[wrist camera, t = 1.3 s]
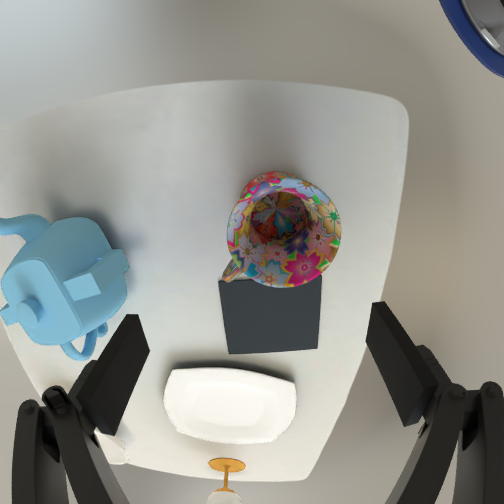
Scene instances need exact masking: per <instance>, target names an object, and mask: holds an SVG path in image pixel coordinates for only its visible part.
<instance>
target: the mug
mask: <svg viewBox="0 0 504 504" xmlns="http://www.w3.org/2000/svg"><path fill="white" fill-rule="evenodd" d="M340 239H341V223H340V218H339V215H338V212H337V210H336V208H335V206H334V204H333V202H332V201H331V200H330V198H329V197H328V196H327V195H326V194H325V193H324V192H323V191H322V190H321V189H319V188H318V187H316V186H315V185H313V184H311V183H309V182H307V181H304V180H301V179H298V178H297V177H295V176H293V175H291V174H288V173H284V172H269V173H265V174H262V175H260V176H258V177H256V178H255V179H253V180H252V181H251V182H250V183H249V184H248V185H247V186H246V187H245V189H244V190H243V192H242V194H241V196H240V199H239V200H238V202H237V203H236V205H235V206H234V208H233V210H232V212H231V215H230V217H229V221H228V226H227V242H228V247H229V251H230V253H231V256H232V260H231V261H230V262H229V264H228V265H227V267H226V269H225V270H224V272H223V275H222V278H223V280H225V281H226V282H231V281H233V280H235V279H236V278H237V277H239V276H240V275H241V274H242V273H243V272H244V273H245V274H246V275H247V276H248V277H250V278H251V279H253V280H255V281H256V282H259V283H261V284H264V285H267V286H271V287H278V288H287V287H294V286H299V285H302V284H304V283H307V282H309V281H311V280H313V279H314V278H316V277H317V276H319V275H320V274H321V273H322V272H323V271H325V269H326V268H327V267H328V266H329V265H330V263H331V262H332V261H333V259H334V257H335V255H336V253H337V251H338V248H339V244H340ZM236 265H237V267H236V268H235V266H236ZM234 268H235V269H234Z"/></svg>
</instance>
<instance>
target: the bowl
mask: <svg viewBox="0 0 504 504" xmlns="http://www.w3.org/2000/svg"><path fill="white" fill-rule="evenodd" d="M94 433H95V434H96V436H97V438H98V441H99V443H100V445H101V448H102V450H103V452H104V454H105V457H106V459H107V461H108V463H110V464H125V463H126V462H128V459H129V458H128V455H127V453H126V448H125V444H124V443H123V441H122V440H121V439H120V438H119V437H118V436H117V434H115V436H111V435H106V434H102V433H101V432H100V431H99V430H98V428H97V427H96V428H95V431H94Z"/></svg>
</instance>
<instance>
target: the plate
mask: <svg viewBox="0 0 504 504" xmlns="http://www.w3.org/2000/svg"><path fill="white" fill-rule="evenodd" d="M163 403H164V407H165V410H166V412H167V415H168V417H169V418H170V420H171V422H172V423H173V425H174V427H175V428H176V429H177V431H178V432H181V433H184V434H187V435H190V436H193V437H197V438H200V439H204V440H208V441H213V442H218V443H226V444H254V443H265V442H272V441H274V440H275V439H276V438H277V437H278V436H279V435H280V434H281V433H282V432H283V431H284V430H285V429H286V428H287V427H288V426H289V424H290V423H291V421H292V420H293V418H294V415H295V412H296V389H295V383H294V382H291V381H287V380H284V379H281V378H277V377H274V376H270V375H267V374H263V373H258V372H254V371H250V370H243V369H237V368H225V367H199V368H181V369H173V370H172V372H171V374H170V376H169V378H168V381H167V384H166V387H165V391H164V396H163Z"/></svg>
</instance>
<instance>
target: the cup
mask: <svg viewBox="0 0 504 504" xmlns="http://www.w3.org/2000/svg"><path fill="white" fill-rule="evenodd" d="M209 466H210V467H211V468H212V469H215V470H217V471H221V472H225V476H224V487H223V488H222V489H218V490H216V491H214V492H212V493H211V494H210V496H209V497H208V498H207V501H206V503H205V504H242V501H241V499H240V497H239V495H238V494H236V493H235V492H234V491H233V490H230V489H228V488H227V483H228V472H230V473H231V472H239V471H242V470H243V469H244V468H245V464H244V463H242V462H240V461H238V460H234V459H228V458H219V459H214V460H211V461H210V462H209Z"/></svg>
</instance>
